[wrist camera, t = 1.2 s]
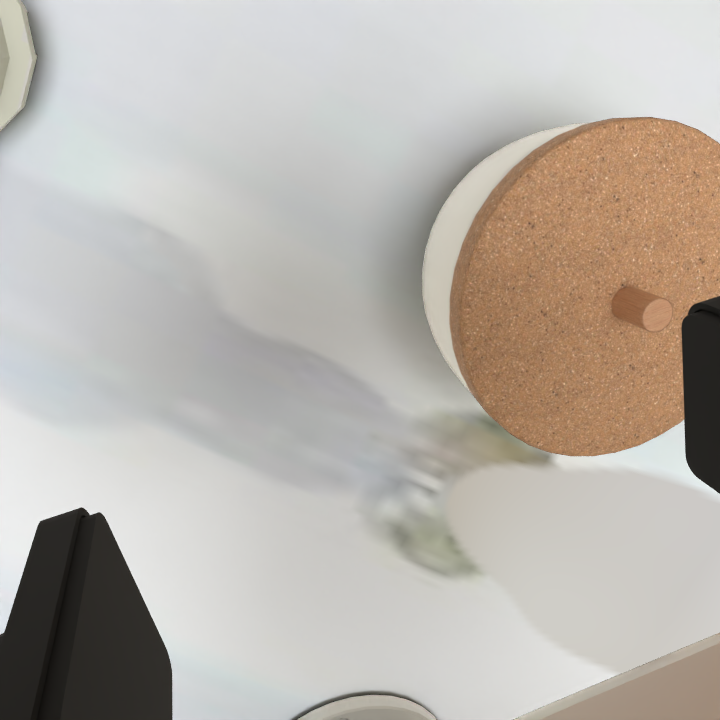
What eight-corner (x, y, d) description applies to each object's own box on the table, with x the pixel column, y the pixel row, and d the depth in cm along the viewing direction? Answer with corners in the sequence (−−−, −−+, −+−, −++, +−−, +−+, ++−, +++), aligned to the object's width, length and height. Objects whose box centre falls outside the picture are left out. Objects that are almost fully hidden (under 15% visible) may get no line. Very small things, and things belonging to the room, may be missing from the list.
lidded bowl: (636, 332, 36) (815, 412, 26) (418, 412, 34) (520, 532, 24) (609, 85, 31) (815, 67, 21) (354, 164, 30) (447, 185, 19)
